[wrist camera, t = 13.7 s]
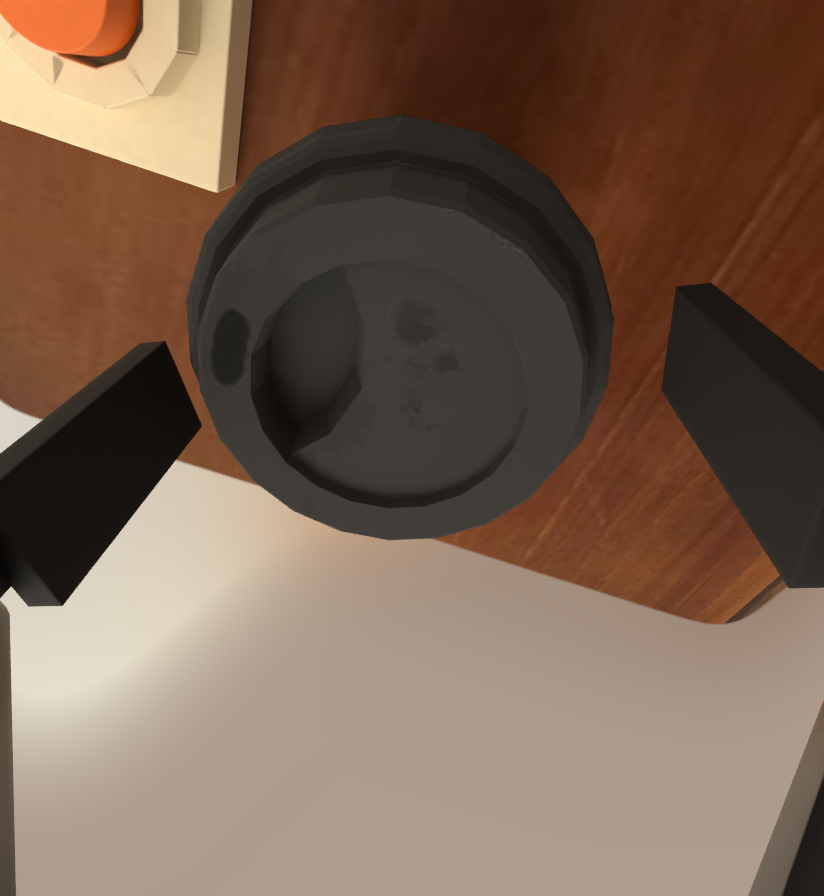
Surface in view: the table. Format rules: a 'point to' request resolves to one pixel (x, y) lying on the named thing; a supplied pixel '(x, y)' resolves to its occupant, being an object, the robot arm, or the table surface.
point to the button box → (142, 91)
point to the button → (74, 24)
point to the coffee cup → (399, 327)
